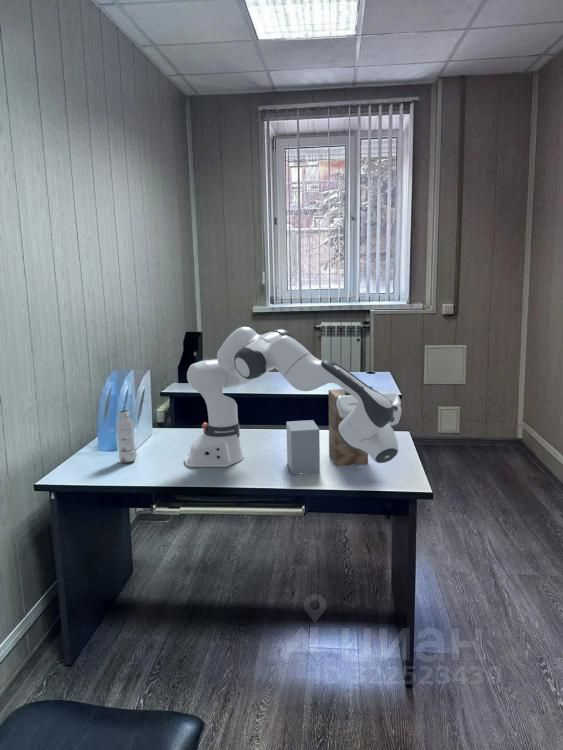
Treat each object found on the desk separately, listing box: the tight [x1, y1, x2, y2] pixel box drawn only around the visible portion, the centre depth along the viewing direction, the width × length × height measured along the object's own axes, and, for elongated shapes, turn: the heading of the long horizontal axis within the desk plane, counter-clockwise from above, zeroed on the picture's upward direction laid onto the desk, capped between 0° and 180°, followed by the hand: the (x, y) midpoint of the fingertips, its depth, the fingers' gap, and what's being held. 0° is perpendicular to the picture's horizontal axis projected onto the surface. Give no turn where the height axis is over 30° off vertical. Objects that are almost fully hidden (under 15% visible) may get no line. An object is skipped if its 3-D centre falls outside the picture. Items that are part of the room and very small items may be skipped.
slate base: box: [285, 419, 321, 475], centre depth 196 cm, size 10×12×16 cm
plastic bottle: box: [115, 409, 138, 464], centre depth 207 cm, size 6×7×20 cm
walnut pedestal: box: [328, 388, 369, 467], centre depth 202 cm, size 12×12×26 cm
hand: (363, 388), depth 179 cm, fingers closed on teal bar, 3 cm apart
